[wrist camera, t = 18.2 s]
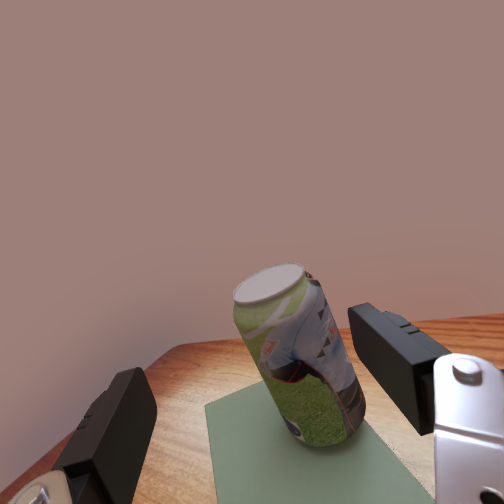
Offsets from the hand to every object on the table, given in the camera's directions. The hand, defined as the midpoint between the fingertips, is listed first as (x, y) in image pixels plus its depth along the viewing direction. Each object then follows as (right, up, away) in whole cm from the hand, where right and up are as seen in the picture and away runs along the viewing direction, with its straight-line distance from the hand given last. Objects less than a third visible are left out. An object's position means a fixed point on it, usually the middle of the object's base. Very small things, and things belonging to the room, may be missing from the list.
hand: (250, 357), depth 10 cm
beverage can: (+5, -9, +10) cm, 14 cm away
